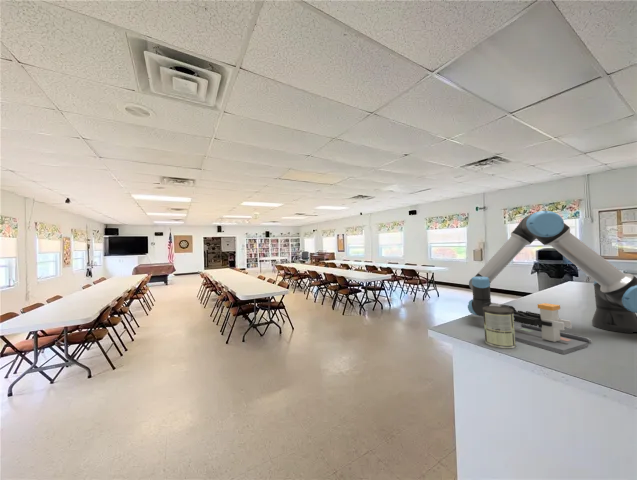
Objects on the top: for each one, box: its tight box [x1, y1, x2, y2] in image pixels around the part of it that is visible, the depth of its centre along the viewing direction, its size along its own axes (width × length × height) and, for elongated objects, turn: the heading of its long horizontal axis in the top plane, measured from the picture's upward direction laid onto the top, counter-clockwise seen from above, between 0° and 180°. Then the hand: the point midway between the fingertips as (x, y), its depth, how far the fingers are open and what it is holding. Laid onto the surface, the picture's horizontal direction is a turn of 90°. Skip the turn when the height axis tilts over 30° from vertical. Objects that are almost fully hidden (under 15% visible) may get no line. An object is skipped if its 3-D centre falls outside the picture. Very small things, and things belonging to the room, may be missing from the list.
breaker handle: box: [536, 302, 561, 342], centre depth 102 cm, size 5×5×14 cm
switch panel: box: [514, 324, 589, 355], centre depth 106 cm, size 26×16×2 cm, turn 22°
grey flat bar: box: [520, 323, 592, 344], centre depth 110 cm, size 23×4×2 cm, turn 22°
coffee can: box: [483, 306, 517, 349], centre depth 104 cm, size 10×10×14 cm
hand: (567, 325), depth 97 cm, fingers closed on breaker handle, 4 cm apart
